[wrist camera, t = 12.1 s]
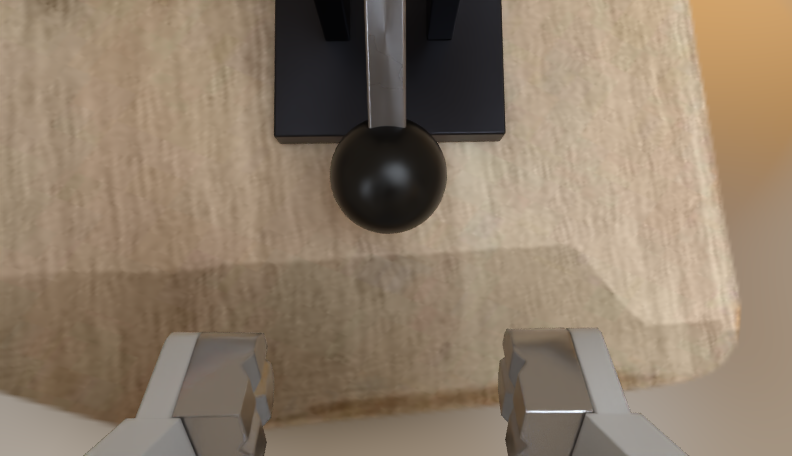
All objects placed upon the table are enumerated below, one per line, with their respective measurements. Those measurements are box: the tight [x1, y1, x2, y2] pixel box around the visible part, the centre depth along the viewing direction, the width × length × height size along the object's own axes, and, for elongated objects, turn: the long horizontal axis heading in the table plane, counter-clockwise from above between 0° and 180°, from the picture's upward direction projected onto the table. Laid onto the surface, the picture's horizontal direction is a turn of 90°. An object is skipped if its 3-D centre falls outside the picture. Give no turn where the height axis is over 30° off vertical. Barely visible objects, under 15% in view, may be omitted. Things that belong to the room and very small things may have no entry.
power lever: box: [330, 0, 447, 234], centre depth 16 cm, size 13×4×4 cm
